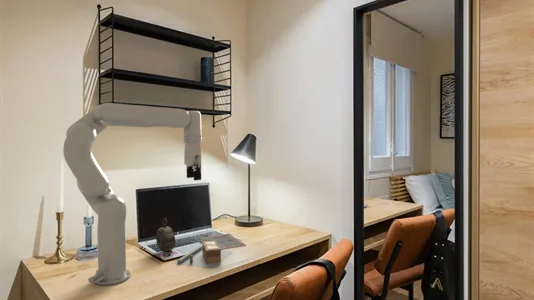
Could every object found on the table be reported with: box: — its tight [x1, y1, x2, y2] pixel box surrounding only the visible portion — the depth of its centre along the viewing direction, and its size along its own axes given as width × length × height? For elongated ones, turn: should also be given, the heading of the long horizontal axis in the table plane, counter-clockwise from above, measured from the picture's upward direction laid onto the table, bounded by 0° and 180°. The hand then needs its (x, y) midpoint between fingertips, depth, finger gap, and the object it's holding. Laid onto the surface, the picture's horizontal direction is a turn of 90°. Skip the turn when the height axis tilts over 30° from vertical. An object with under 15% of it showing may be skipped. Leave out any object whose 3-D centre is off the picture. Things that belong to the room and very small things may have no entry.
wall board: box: [174, 245, 233, 269], centre depth 145 cm, size 20×18×4 cm
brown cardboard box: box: [201, 241, 222, 264], centre depth 144 cm, size 12×6×6 cm, turn 19°
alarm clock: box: [155, 217, 176, 252], centre depth 154 cm, size 11×5×16 cm, turn 45°
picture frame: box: [199, 233, 247, 251], centre depth 167 cm, size 16×2×22 cm
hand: (193, 178), depth 146 cm, fingers open, 9 cm apart
